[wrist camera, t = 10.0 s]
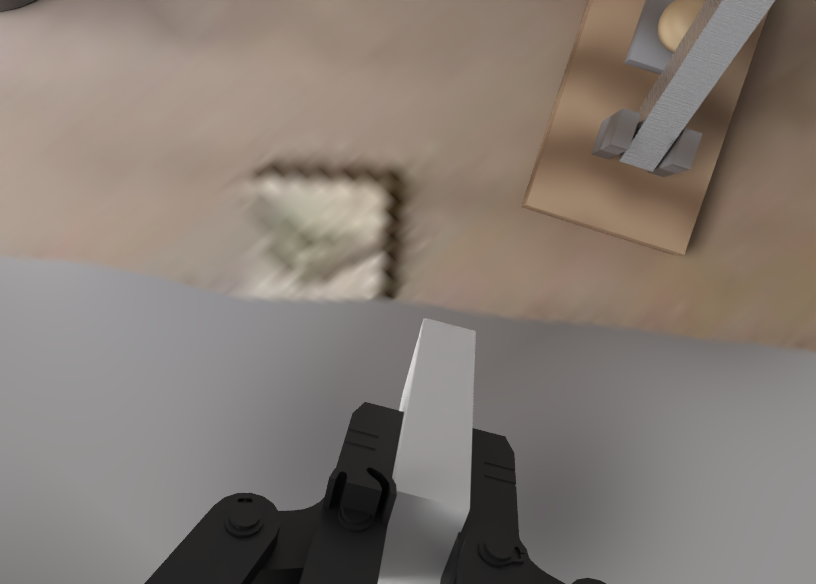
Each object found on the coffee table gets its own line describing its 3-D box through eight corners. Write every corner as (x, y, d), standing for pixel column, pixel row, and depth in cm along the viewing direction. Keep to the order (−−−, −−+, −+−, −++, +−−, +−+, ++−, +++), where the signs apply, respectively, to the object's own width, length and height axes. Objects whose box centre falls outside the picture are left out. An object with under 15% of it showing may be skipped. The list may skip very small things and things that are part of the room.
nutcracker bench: (672, 254, 47) (715, 255, 40) (521, 206, 47) (539, 200, 40) (762, -7, 45) (822, -50, 39) (607, -58, 45) (640, -110, 39)
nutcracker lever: (660, 180, 42) (859, -87, 28) (610, 164, 42) (784, -112, 28) (660, 146, 44) (844, -119, 30) (612, 131, 44) (775, -142, 30)
